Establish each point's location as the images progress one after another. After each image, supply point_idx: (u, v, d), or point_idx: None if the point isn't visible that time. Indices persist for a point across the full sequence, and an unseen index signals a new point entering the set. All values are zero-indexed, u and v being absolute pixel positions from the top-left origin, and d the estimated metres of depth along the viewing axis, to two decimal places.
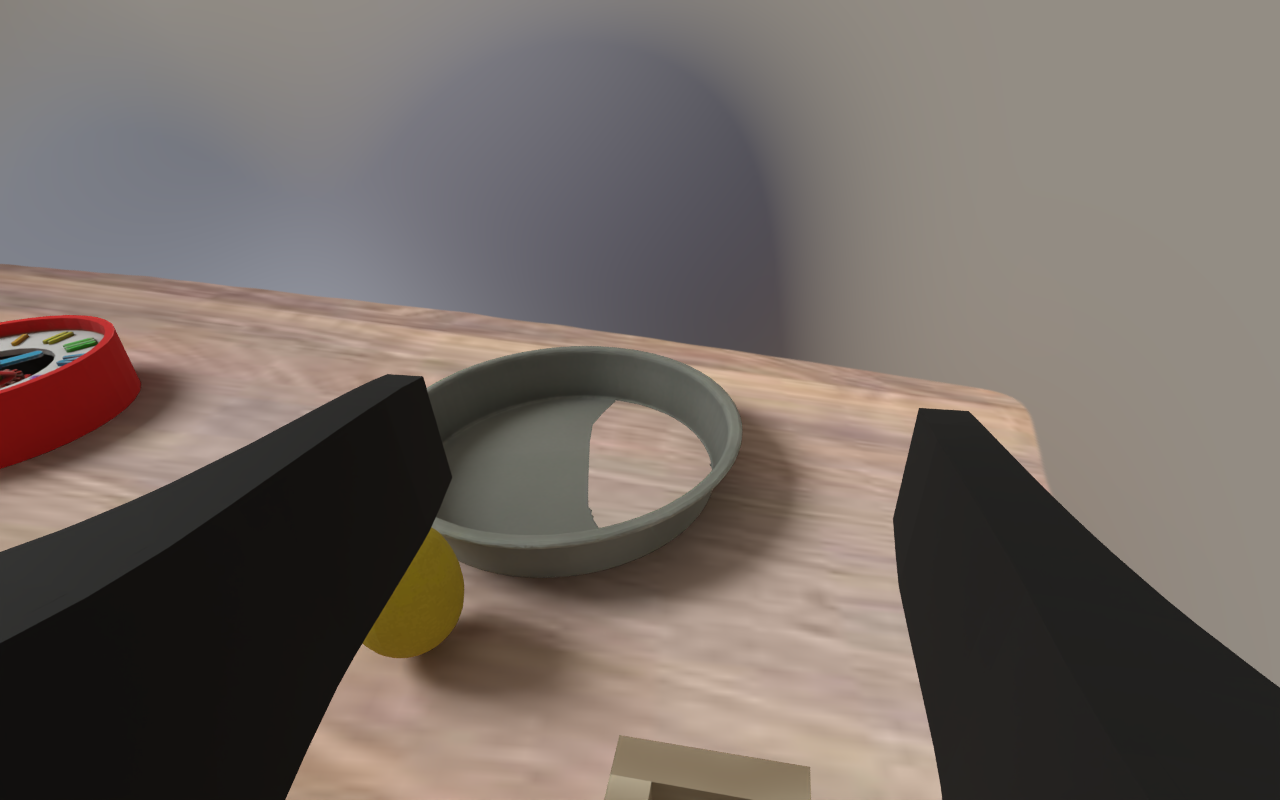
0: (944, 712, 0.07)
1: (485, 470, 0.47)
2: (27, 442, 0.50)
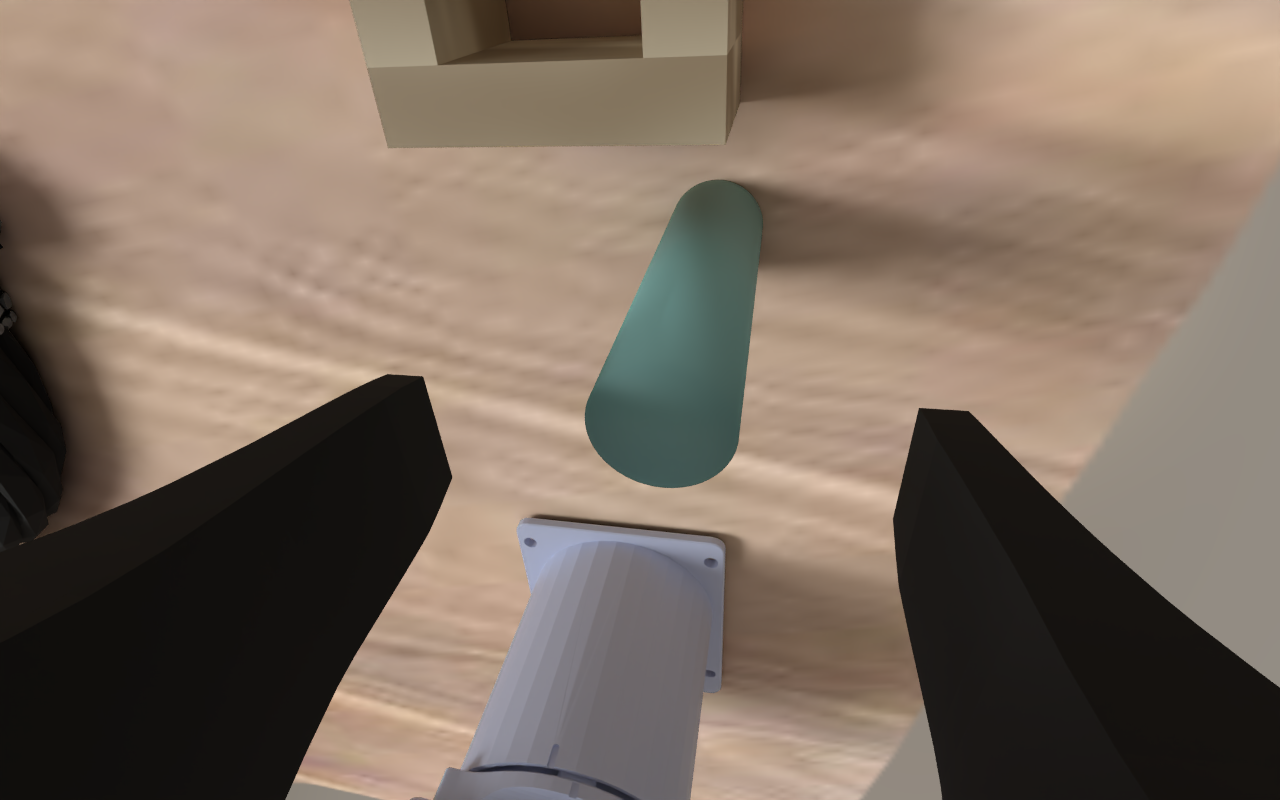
0: (944, 712, 0.07)
1: None
2: None
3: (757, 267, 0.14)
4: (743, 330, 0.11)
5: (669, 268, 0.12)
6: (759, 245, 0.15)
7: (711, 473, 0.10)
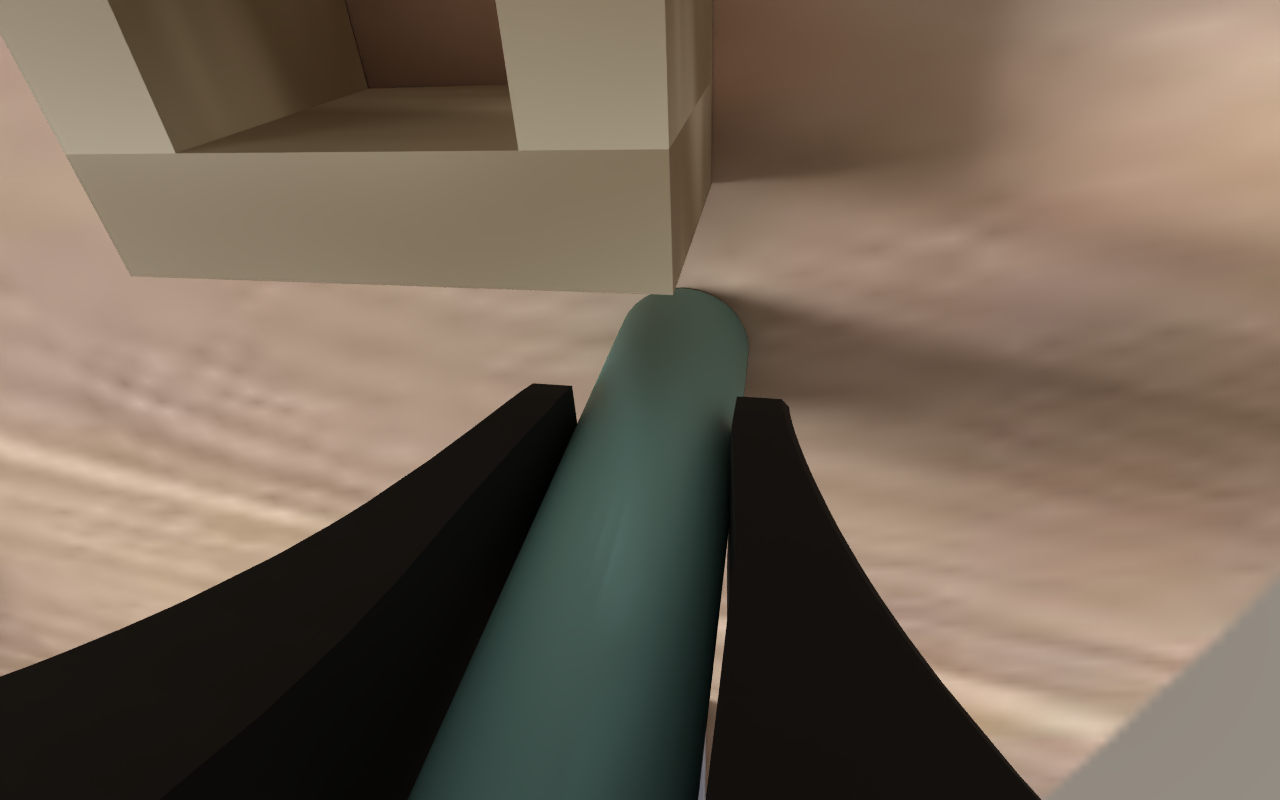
0: None
1: None
2: None
3: None
4: (700, 657, 0.06)
5: (576, 511, 0.07)
6: None
7: None
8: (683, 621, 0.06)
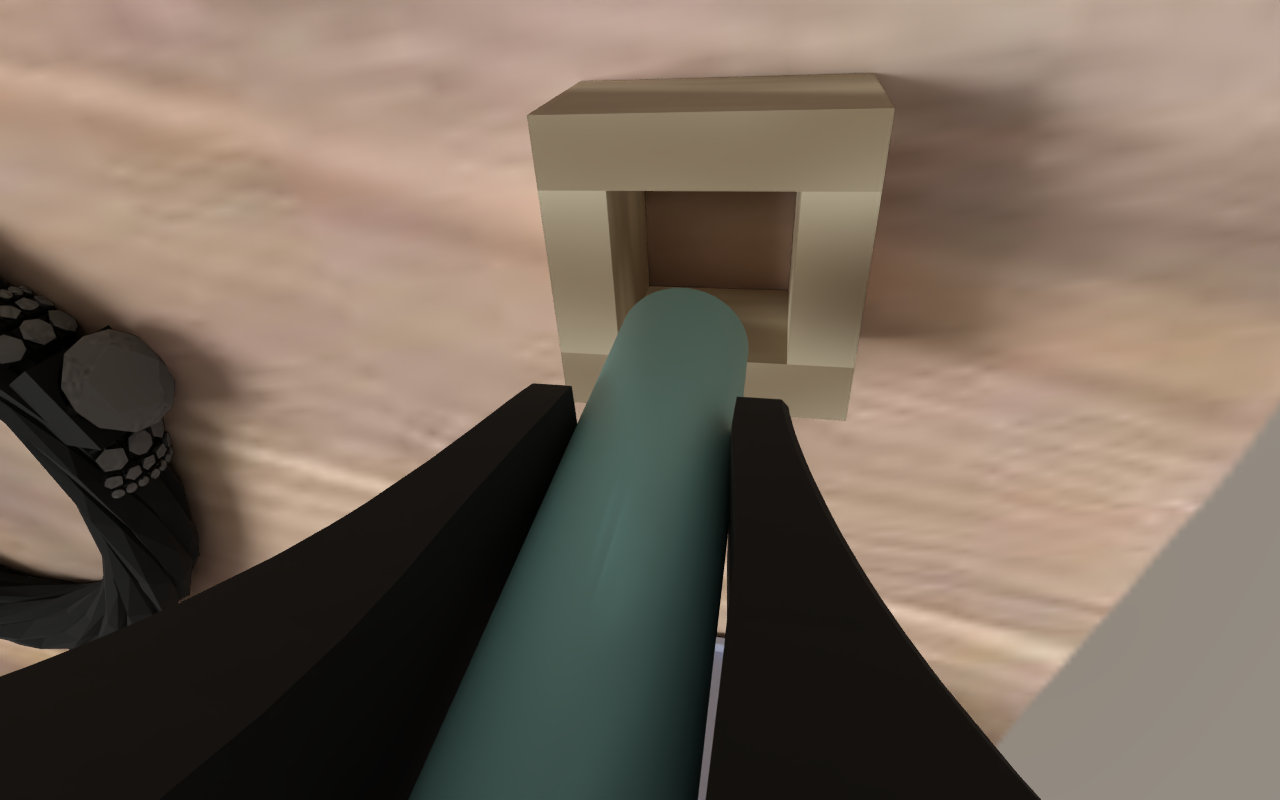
0: None
1: None
2: None
3: None
4: (698, 654, 0.06)
5: (573, 512, 0.07)
6: None
7: None
8: (681, 618, 0.06)
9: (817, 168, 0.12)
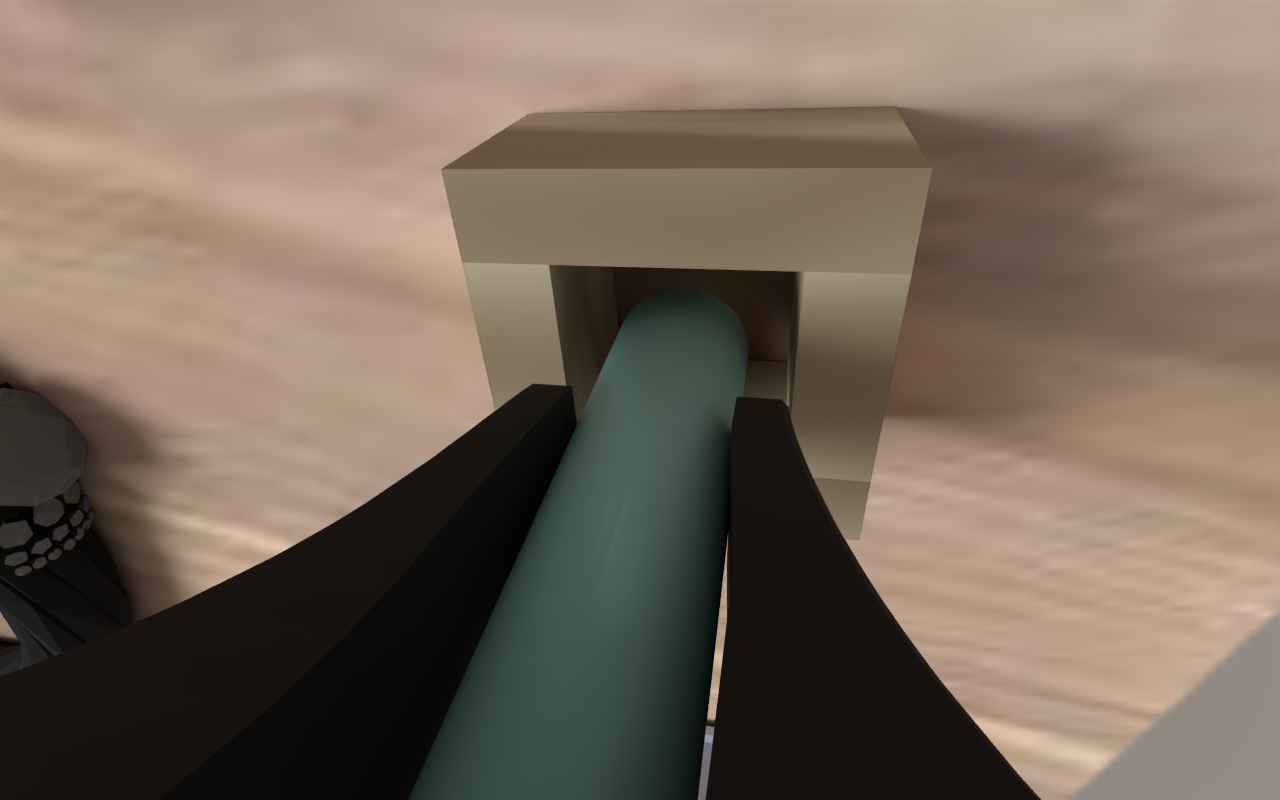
0: None
1: None
2: None
3: None
4: (698, 653, 0.06)
5: (574, 510, 0.07)
6: None
7: None
8: (681, 617, 0.06)
9: (825, 243, 0.09)
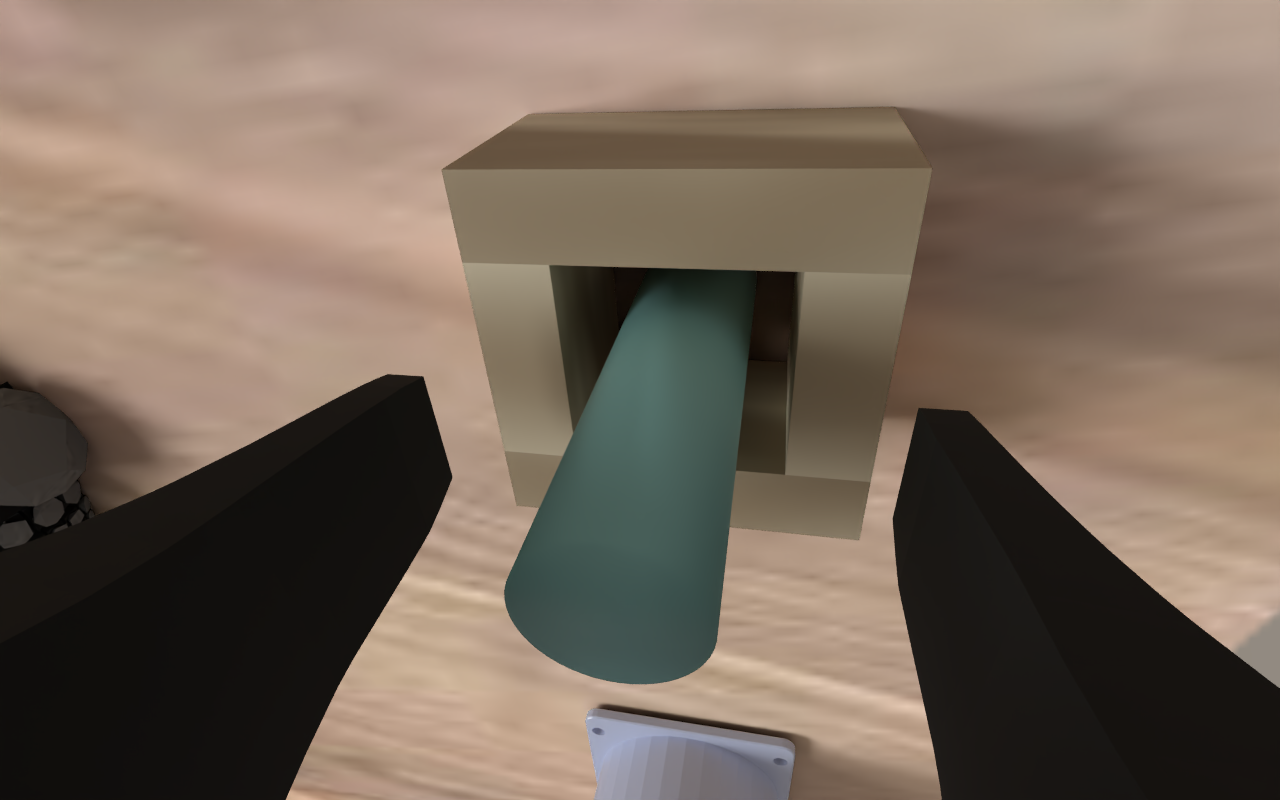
0: (944, 712, 0.07)
1: None
2: None
3: (748, 343, 0.12)
4: (726, 454, 0.09)
5: (630, 365, 0.09)
6: (751, 310, 0.12)
7: (683, 671, 0.07)
8: (713, 428, 0.09)
9: (825, 243, 0.09)
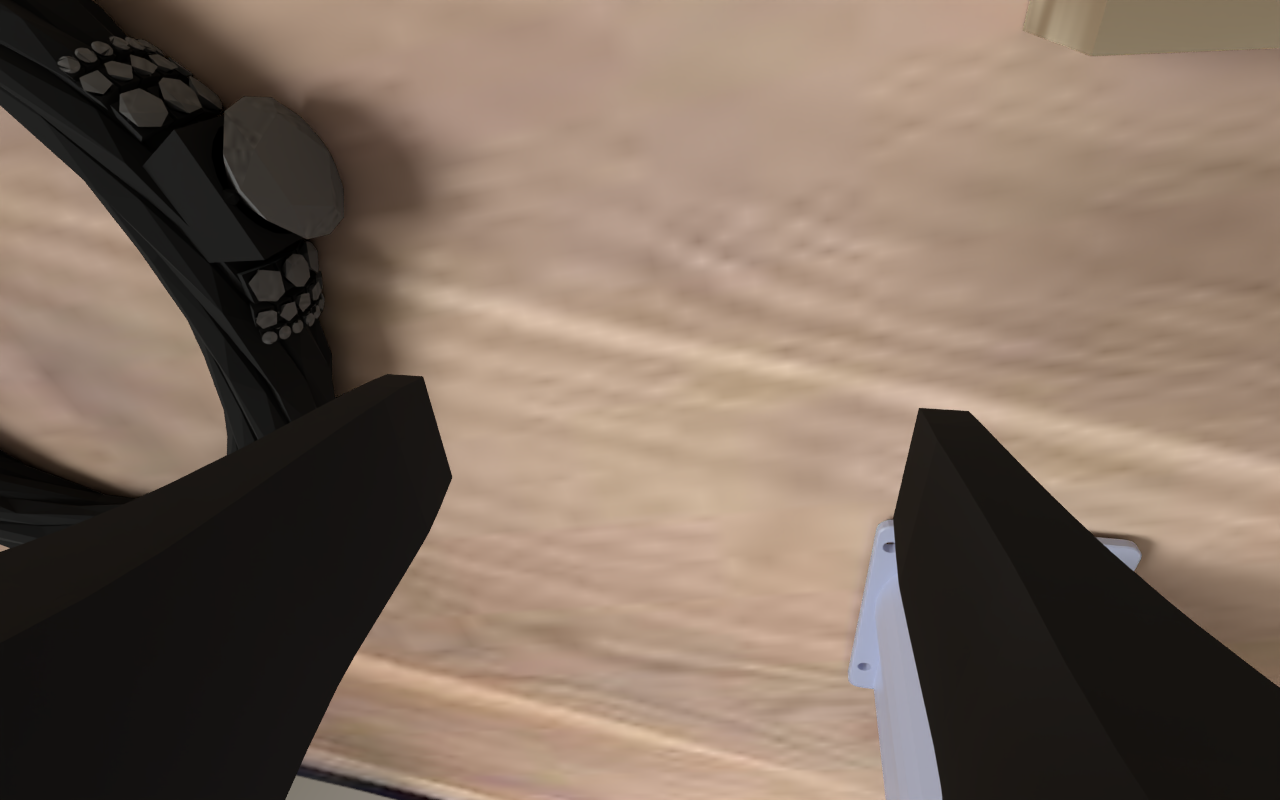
0: (944, 712, 0.07)
1: None
2: None
3: None
4: None
5: None
6: None
7: None
8: None
9: None
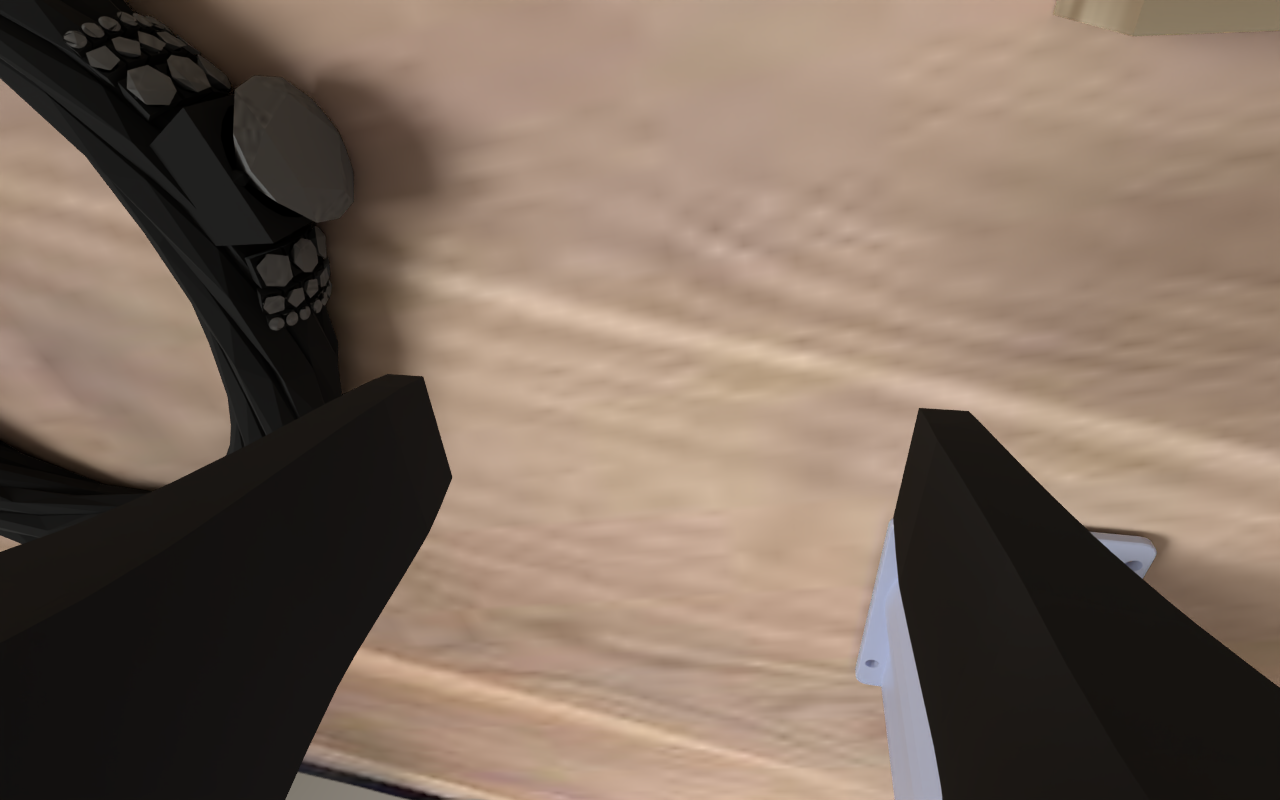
0: (944, 712, 0.07)
1: None
2: None
3: None
4: None
5: None
6: None
7: None
8: None
9: None
